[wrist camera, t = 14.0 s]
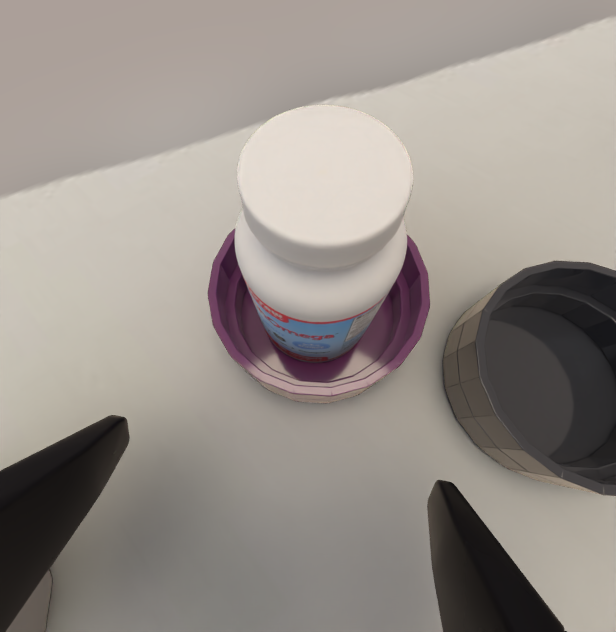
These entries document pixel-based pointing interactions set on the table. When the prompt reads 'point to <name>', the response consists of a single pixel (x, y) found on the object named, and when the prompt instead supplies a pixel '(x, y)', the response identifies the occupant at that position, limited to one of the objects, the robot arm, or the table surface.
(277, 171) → the pill bottle
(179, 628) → the table surface
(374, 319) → the plum bowl
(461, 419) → the charcoal bowl
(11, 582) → the robot arm
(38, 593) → the cup
